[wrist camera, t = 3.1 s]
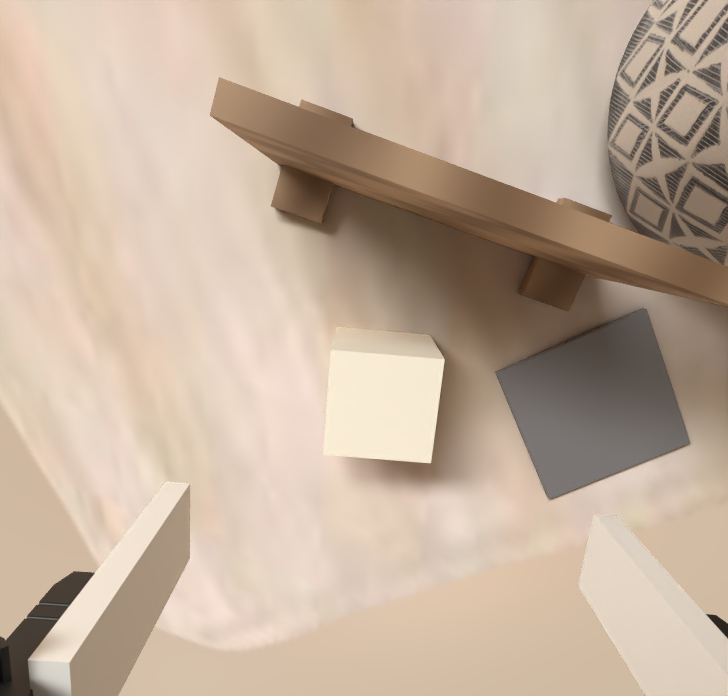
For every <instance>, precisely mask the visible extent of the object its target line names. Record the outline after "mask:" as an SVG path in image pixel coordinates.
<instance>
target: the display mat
mask: <svg viewBox="0 0 728 696" xmlns="http://www.w3.org/2000/svg"><path fill="white" fill-rule="evenodd" d="M495 373H496V375H497V377H498V380H499V382H500V385H501V387H502V389H503V392H504V394H505V397H506V399H507V401H508V404H509V406H510V408H511V411H512V413H513V416H514V418H515V420H516V423H517V425H518V428H519V430H520V432H521V435H522V437H523V440H524V442H525V444H526V447H527V449H528V452H529V454H530V456H531V459H532V461H533V464H534V466H535V468H536V471H537V473H538V476H539V478H540V480H541V483H542V485H543V488H544V490H545V492H546V495H547V497H548V498H549V499H552V498H554V497H557V496H559V495H562V494H564V493H567V492H569V491H572V490H574V489H577V488H579V487H582V486H584V485H587V484H589V483H592V482H594V481H597V480H599V479H602V478H604V477H607V476H609V475H612V474H614V473H617V472H619V471H622V470H624V469H627V468H629V467H632V466H634V465H637V464H639V463H642V462H644V461H647V460H649V459H652V458H654V457H657V456H659V455H662V454H664V453H667V452H669V451H672V450H674V449H677V448H679V447H682V446H684V445H687V444H689V443H690V441H689V438H688V435H687V432H686V429H685V425H684V422H683V419H682V416H681V413H680V410H679V407H678V404H677V401H676V398H675V395H674V392H673V389H672V386H671V383H670V380H669V377H668V374H667V371H666V368H665V364H664V361H663V358H662V355H661V352H660V349H659V346H658V343H657V340H656V337H655V334H654V331H653V328H652V325H651V322H650V319H649V316H648V313H647V310H646V309H643V308H642V309H640V310H638V311H636V312H633V313H631V314H629V315H626V316H624V317H622V318H619V319H617V320H615V321H612V322H610V323H608V324H606V325H603V326H601V327H599V328H596V329H594V330H592V331H589V332H587V333H585V334H582V335H580V336H578V337H575V338H573V339H571V340H569V341H566V342H564V343H562V344H559V345H557V346H555V347H552V348H550V349H548V350H545V351H543V352H541V353H539V354H536V355H534V356H532V357H529V358H527V359H525V360H522V361H520V362H518V363H515V364H513V365H511V366H509V367H506V368H504V369H502V370H499V371H497V372H495Z"/></svg>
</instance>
